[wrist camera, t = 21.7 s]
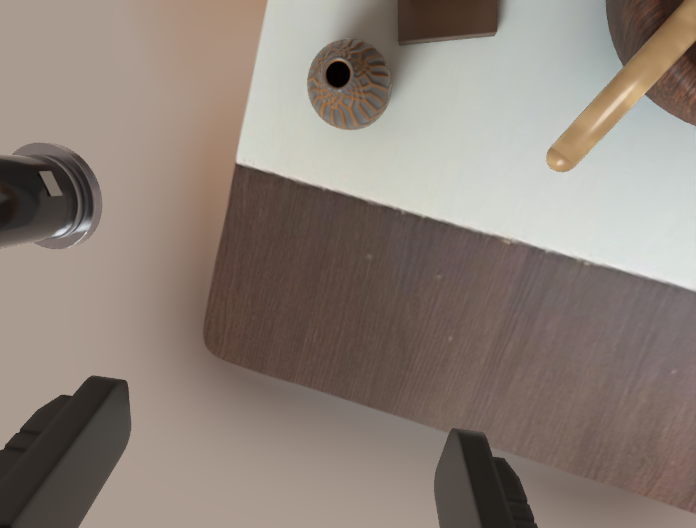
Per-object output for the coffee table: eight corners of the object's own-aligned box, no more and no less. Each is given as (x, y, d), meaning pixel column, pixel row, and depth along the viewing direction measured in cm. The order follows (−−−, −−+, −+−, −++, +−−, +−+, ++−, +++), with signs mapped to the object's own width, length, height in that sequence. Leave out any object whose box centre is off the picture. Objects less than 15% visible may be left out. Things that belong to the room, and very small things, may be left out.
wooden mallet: (885, -209, 19) (921, -181, 19) (823, -162, 22) (853, -138, 22) (544, 162, 27) (569, 182, 27) (535, 156, 30) (557, 174, 30)
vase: (410, 84, 38) (406, 61, 30) (362, 148, 40) (346, 143, 32) (349, 35, 38) (328, -1, 30) (305, 101, 40) (273, 85, 32)
